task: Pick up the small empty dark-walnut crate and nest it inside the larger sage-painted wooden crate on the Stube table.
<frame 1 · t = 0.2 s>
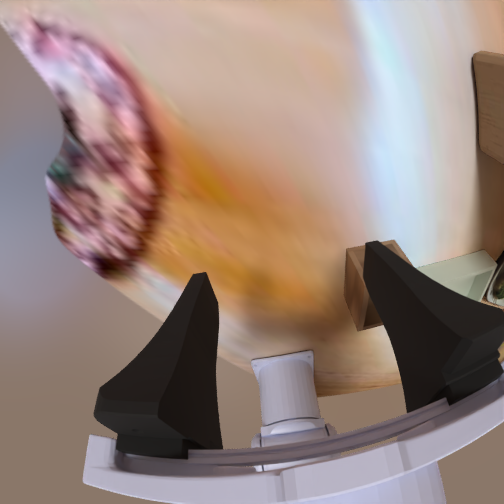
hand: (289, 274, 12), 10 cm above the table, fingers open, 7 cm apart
walnut crate: (368, 267, 26), on the table
wooden block: (501, 101, 15), on the table
sage crate: (439, 287, 29), on the table
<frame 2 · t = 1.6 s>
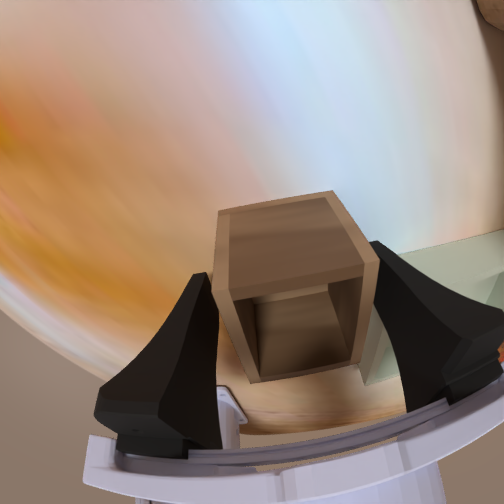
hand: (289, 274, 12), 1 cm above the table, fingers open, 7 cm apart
walnut crate: (284, 253, 14), on the table
sage crate: (441, 293, 16), on the table
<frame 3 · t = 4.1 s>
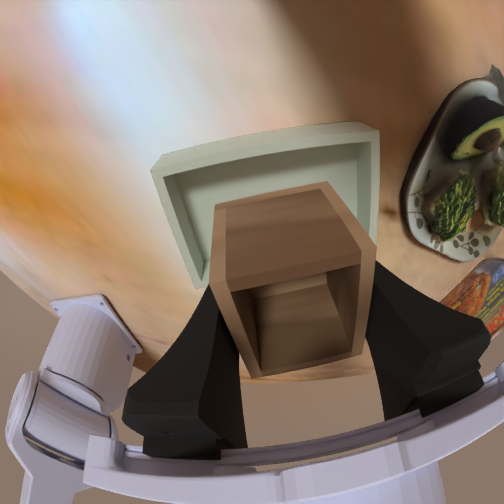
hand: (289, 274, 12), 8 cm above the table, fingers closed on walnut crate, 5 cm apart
tin: (458, 289, 27), on the table
salad plate: (471, 168, 18), on the table
walnut crate: (281, 247, 14), point 7 cm above the table, touching gripper
sage crate: (272, 195, 19), on the table
when the fingers open (4 cm above the table, at t = 5.9 s): walnut crate drops 2 cm, resting on sage crate.
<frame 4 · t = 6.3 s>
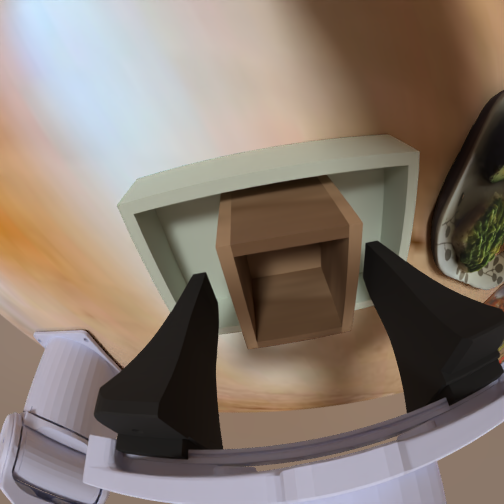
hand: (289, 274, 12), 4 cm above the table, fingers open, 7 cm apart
tin: (476, 313, 24), on the table
salad plate: (503, 188, 15), on the table
walnut crate: (280, 230, 15), point 1 cm above the table, touching sage crate
sage crate: (278, 228, 15), on the table
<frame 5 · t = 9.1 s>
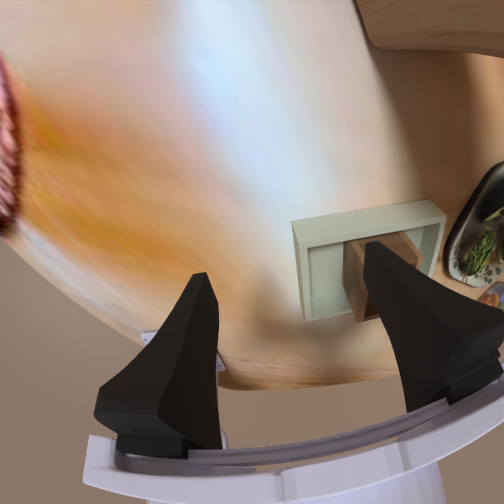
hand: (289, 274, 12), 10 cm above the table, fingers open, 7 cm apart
tin: (473, 305, 33), on the table
salad plate: (493, 220, 24), on the table
walnut crate: (368, 253, 24), point 1 cm above the table, touching sage crate
sage crate: (365, 252, 24), on the table
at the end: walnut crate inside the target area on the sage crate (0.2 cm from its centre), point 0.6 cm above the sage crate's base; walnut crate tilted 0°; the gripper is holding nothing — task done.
